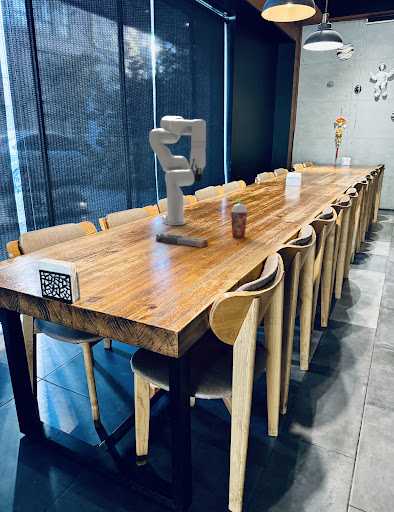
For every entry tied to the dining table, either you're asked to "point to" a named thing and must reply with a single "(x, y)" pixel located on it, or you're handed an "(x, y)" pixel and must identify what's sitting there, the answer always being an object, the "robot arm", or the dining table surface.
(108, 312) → the dining table surface
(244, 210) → the smoothie
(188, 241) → the bar
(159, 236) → the tongs moving jaw
